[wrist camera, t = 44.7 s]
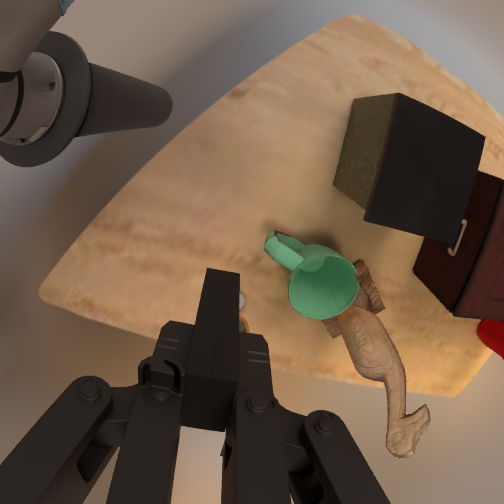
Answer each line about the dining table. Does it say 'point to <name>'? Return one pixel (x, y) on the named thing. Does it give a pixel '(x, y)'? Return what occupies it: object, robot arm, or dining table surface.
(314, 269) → the mug
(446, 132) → the black flat panel
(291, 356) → the dining table surface
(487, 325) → the water bottle
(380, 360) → the bird sculpture
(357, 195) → the green cube bin
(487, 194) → the storage box
